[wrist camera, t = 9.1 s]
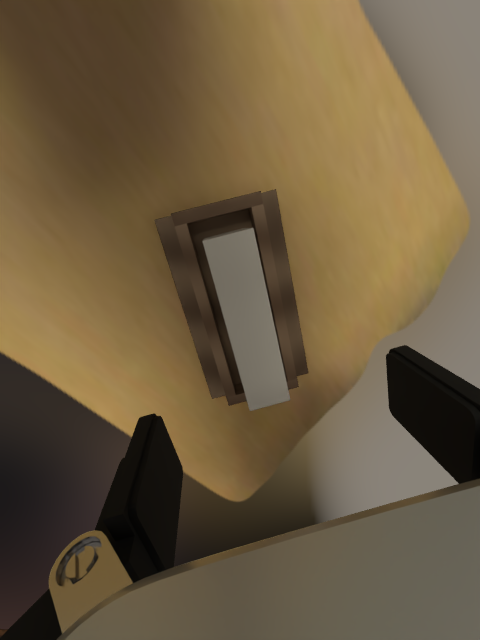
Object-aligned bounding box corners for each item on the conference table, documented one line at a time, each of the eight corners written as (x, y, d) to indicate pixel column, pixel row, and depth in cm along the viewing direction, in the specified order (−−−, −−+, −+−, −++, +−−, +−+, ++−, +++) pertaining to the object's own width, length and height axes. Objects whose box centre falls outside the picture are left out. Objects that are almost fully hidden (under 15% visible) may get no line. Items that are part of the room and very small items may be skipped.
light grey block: (204, 238, 25) (202, 240, 18) (241, 228, 25) (253, 227, 18) (240, 370, 29) (249, 411, 23) (272, 361, 29) (290, 400, 23)
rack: (156, 220, 25) (149, 219, 22) (273, 190, 25) (281, 185, 22) (212, 393, 31) (212, 410, 28) (305, 368, 31) (314, 382, 28)
